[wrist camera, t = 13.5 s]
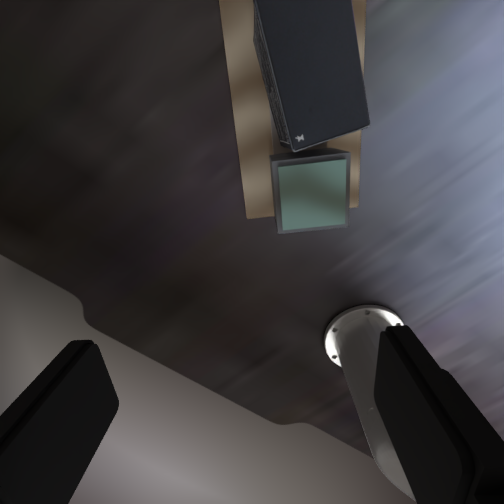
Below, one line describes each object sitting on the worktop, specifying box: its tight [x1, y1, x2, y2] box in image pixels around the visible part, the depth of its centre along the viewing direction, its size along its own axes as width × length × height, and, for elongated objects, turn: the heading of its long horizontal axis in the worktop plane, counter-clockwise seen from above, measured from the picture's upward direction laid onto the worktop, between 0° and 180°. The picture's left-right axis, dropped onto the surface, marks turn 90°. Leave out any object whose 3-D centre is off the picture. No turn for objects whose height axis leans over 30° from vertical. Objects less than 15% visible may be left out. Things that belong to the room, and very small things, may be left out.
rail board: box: [219, 0, 366, 234], centre depth 26 cm, size 28×14×10 cm, turn 7°
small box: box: [253, 0, 370, 152], centre depth 24 cm, size 11×6×10 cm, turn 18°
